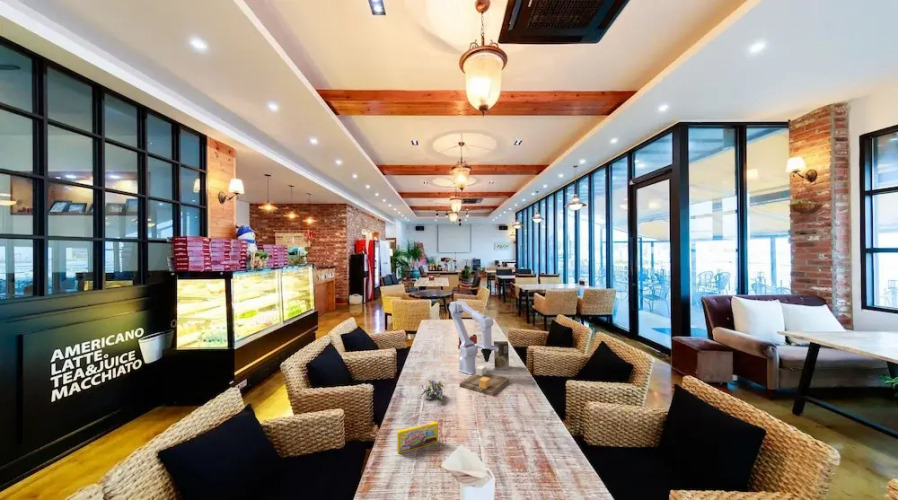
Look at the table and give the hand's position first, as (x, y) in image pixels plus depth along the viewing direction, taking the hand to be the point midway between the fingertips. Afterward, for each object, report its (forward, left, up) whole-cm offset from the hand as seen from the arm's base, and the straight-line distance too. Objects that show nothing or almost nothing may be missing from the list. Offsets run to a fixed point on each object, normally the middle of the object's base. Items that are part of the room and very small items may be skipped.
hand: (486, 361), depth 191 cm
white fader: (-3, -2, -7) cm, 8 cm away
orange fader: (+7, -15, -8) cm, 19 cm away
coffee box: (0, +19, -10) cm, 22 cm away
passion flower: (-11, -38, -10) cm, 40 cm away
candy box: (+9, -73, -10) cm, 74 cm away
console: (+3, -8, -10) cm, 13 cm away
